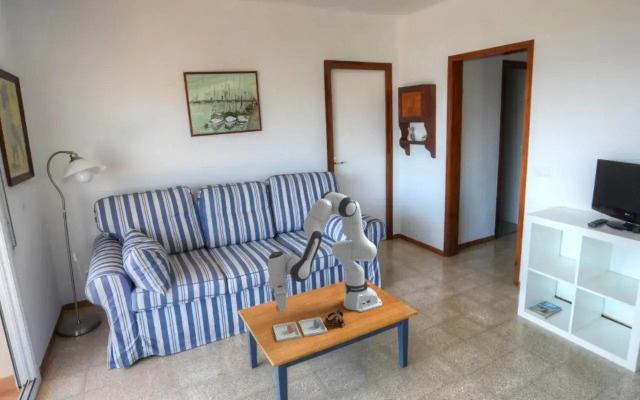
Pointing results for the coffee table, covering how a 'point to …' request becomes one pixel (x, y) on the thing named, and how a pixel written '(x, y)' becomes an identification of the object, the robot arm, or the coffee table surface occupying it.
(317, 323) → the ball grey
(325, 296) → the coffee table surface
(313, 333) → the dish
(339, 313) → the pottery mug
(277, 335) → the dish
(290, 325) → the terracotta ball
